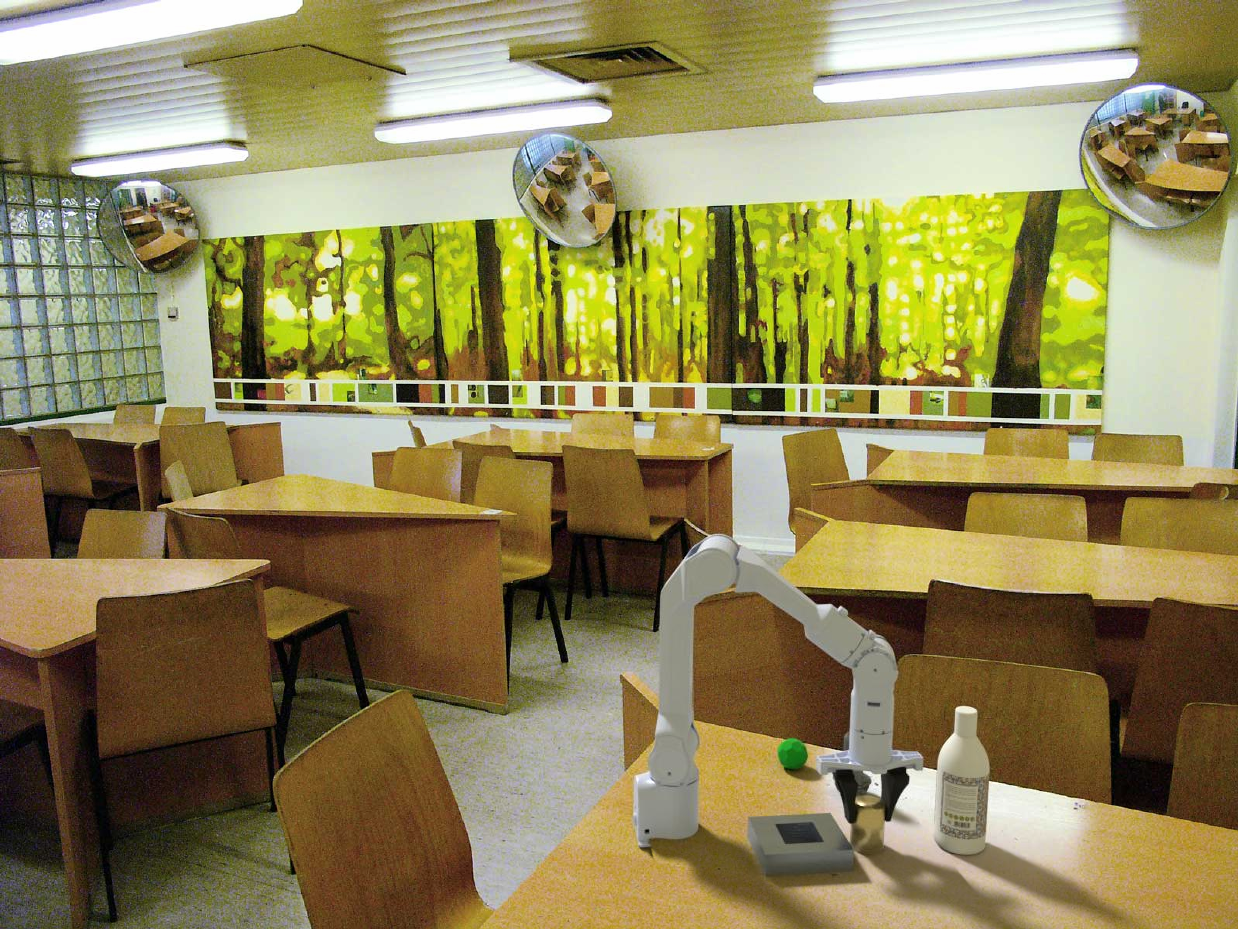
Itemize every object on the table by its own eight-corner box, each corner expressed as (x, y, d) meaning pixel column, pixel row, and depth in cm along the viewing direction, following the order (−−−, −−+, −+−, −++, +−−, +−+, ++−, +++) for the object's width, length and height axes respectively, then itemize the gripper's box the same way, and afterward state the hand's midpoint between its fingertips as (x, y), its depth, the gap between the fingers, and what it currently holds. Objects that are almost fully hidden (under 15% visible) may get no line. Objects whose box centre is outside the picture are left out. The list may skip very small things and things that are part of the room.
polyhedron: (800, 777, 161) (800, 749, 160) (772, 769, 163) (772, 742, 163) (811, 765, 165) (812, 738, 164) (784, 758, 168) (785, 731, 167)
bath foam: (993, 856, 137) (1001, 719, 134) (943, 857, 137) (951, 720, 134) (973, 830, 144) (981, 700, 141) (926, 831, 144) (933, 700, 141)
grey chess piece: (861, 813, 149) (864, 737, 147) (825, 801, 152) (827, 728, 151) (876, 798, 154) (879, 725, 152) (841, 787, 157) (844, 716, 155)
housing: (764, 883, 130) (765, 854, 130) (747, 843, 140) (747, 817, 140) (852, 878, 132) (853, 850, 131) (829, 839, 141) (830, 813, 141)
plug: (856, 856, 135) (857, 812, 134) (845, 839, 140) (846, 796, 139) (888, 855, 136) (890, 810, 135) (876, 837, 140) (878, 794, 139)
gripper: (828, 740, 131) (825, 836, 133) (934, 736, 132) (929, 831, 134) (813, 719, 137) (810, 811, 139) (913, 715, 139) (909, 806, 141)
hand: (867, 819), depth 137 cm, fingers closed on plug, 5 cm apart
